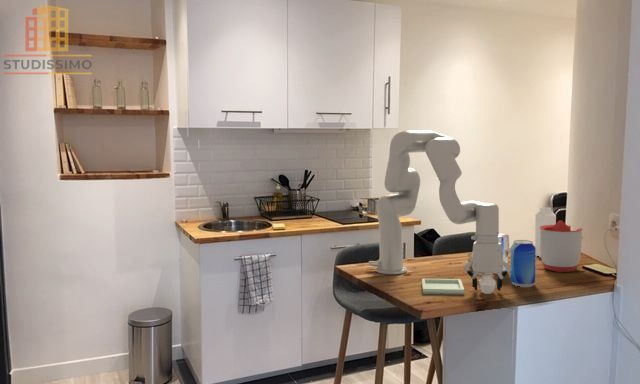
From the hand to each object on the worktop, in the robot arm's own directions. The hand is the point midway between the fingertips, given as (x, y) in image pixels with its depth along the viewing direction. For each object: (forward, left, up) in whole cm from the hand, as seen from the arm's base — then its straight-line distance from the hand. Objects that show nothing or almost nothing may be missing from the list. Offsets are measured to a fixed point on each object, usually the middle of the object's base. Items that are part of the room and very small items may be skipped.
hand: (487, 289), depth 186 cm
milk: (+33, +59, -1) cm, 68 cm away
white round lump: (0, 0, -1) cm, 1 cm away
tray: (-15, +4, -1) cm, 16 cm away
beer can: (+14, +11, -1) cm, 18 cm away
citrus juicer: (+34, +36, -1) cm, 50 cm away
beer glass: (+9, +29, -1) cm, 30 cm away
